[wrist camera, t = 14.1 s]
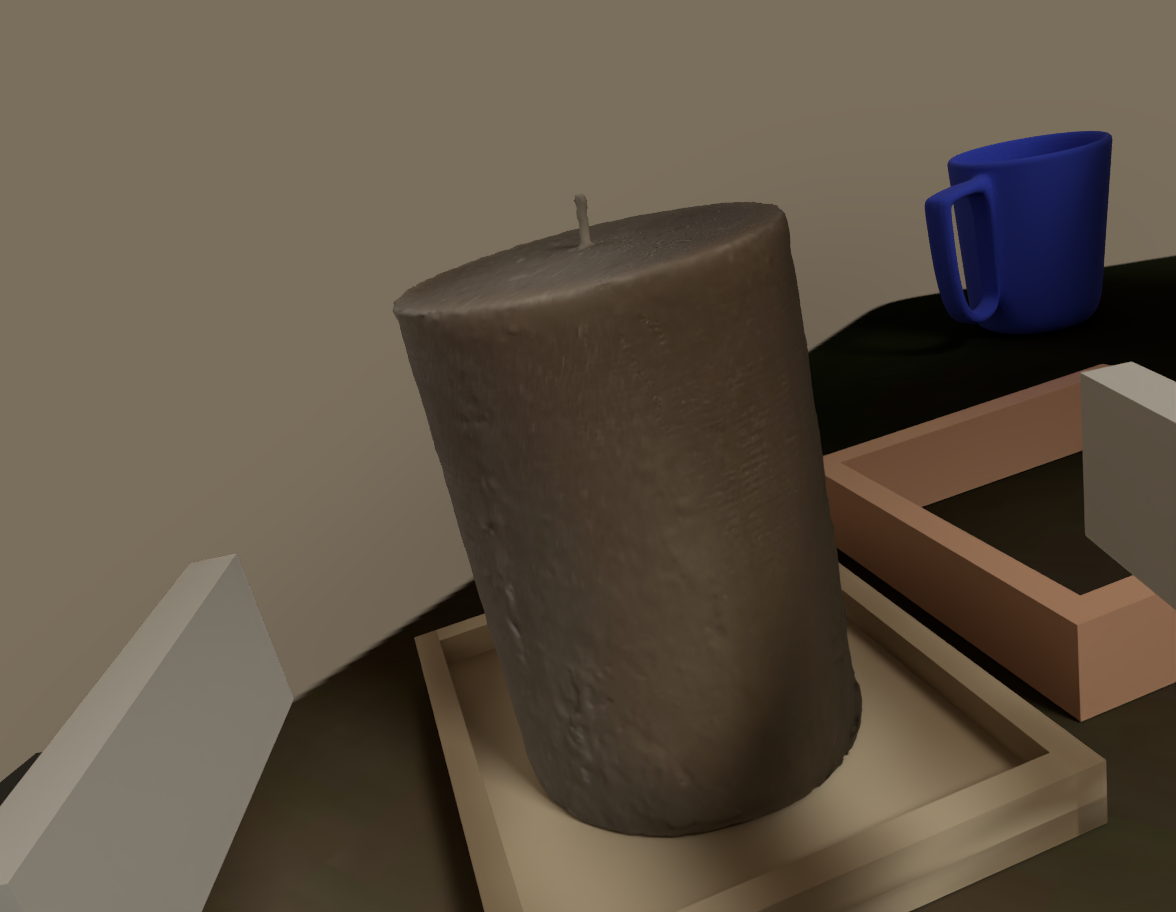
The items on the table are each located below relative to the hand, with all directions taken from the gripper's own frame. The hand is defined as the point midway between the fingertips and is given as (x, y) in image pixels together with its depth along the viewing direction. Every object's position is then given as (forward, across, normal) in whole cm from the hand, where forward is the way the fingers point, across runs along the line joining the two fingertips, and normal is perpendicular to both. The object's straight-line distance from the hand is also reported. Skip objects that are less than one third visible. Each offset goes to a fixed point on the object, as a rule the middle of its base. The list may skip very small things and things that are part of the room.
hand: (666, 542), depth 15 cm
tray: (+10, 0, -11) cm, 15 cm away
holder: (+16, +15, -11) cm, 24 cm away
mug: (+40, +23, -12) cm, 47 cm away
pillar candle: (+10, 0, -11) cm, 14 cm away
